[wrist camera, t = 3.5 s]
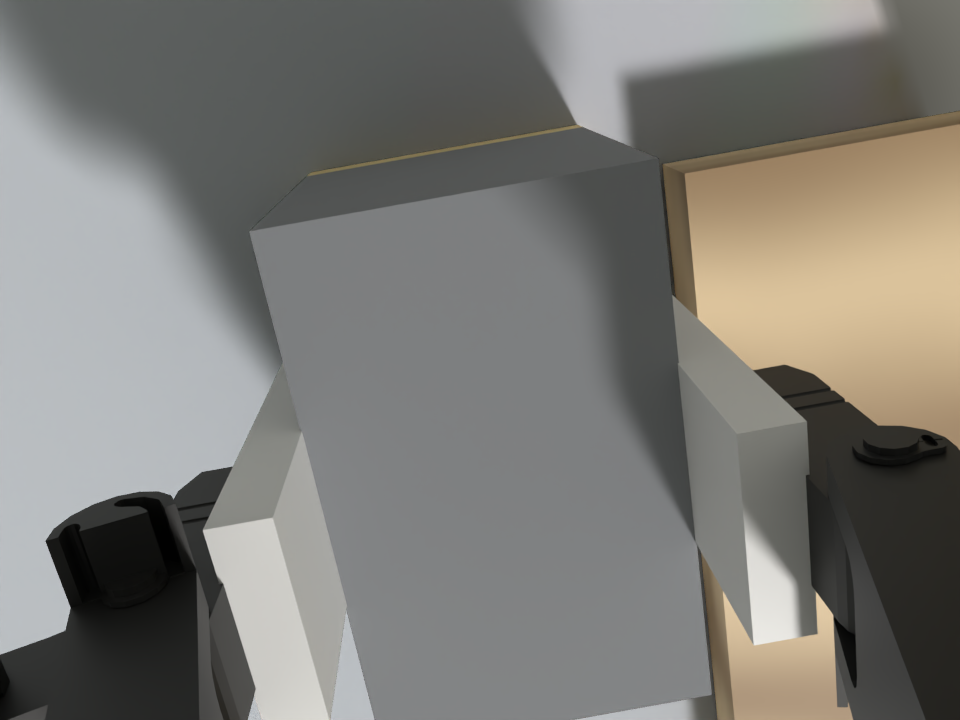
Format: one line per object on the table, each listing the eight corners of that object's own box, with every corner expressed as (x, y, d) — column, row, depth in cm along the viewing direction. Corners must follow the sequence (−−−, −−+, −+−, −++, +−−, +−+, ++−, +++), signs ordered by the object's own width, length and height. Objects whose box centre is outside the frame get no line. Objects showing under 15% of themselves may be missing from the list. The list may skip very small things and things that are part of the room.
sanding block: (310, 172, 16) (248, 231, 11) (576, 124, 16) (658, 158, 11) (396, 545, 19) (383, 753, 13) (625, 504, 19) (712, 694, 13)
